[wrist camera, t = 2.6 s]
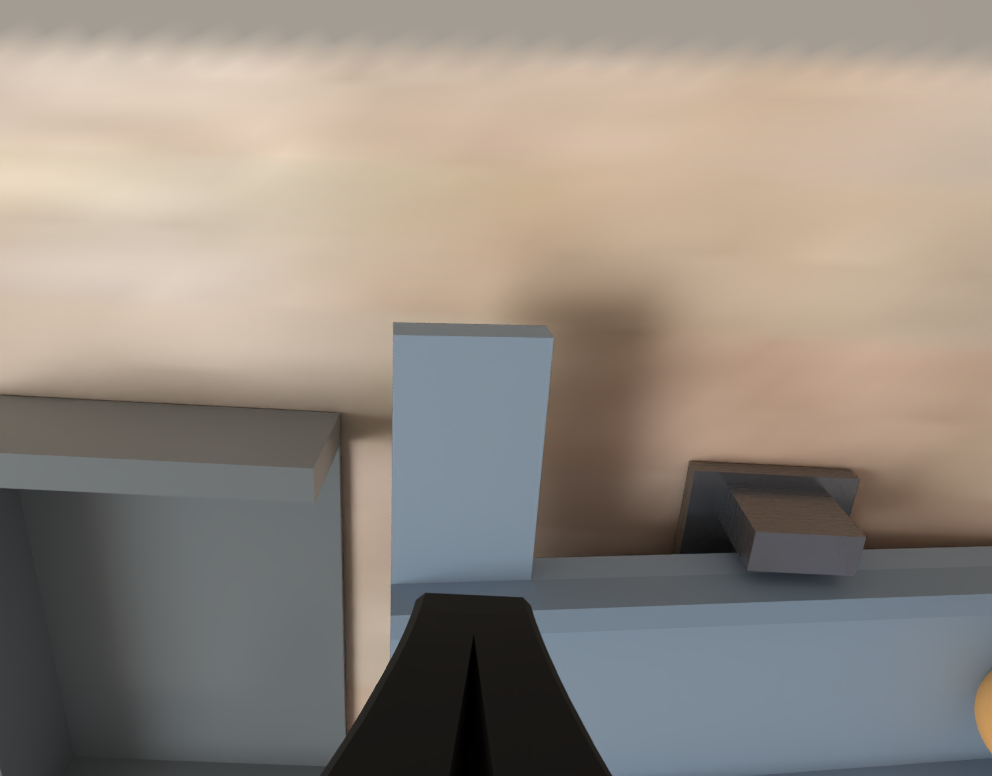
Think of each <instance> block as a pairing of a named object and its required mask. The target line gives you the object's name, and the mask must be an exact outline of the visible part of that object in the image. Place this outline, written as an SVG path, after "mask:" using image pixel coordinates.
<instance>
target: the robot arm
mask: <svg viewBox="0 0 992 776" xmlns="http://www.w3.org/2000/svg"><path fill="white" fill-rule="evenodd" d="M320 776H612V774H611V773H610V771H609V769H608V768H607V766H606V764H605V762H604V761H603V759H602V757H601V755H600V754H599V752H598V750H597V748H596V747H595V745H594V743H593V741H592V739H591V737H590V735H589V734H588V732H587V730H586V728H585V726H584V724H583V722H582V720H581V719H580V717H579V715H578V713H577V711H576V709H575V707H574V705H573V704H572V702H571V700H570V698H569V696H568V694H567V692H566V690H565V688H564V686H563V684H562V681H561V679H560V677H559V675H558V673H557V671H556V668H555V666H554V664H553V662H552V660H551V658H550V655H549V653H548V651H547V648H546V646H545V644H544V641H543V639H542V636H541V634H540V631H539V628H538V626H537V623H536V620H535V617H534V614H533V611H532V607H531V605H530V604H529V603H528V602H527V601H526V600H525V599H524V598H523V597H509V596H487V595H465V594H443V593H424V594H423V595H422V596H420V597H419V598H418V599H416V601H415V604H414V608H413V611H412V614H411V616H410V619H409V621H408V624H407V626H406V628H405V631H404V633H403V635H402V637H401V639H400V641H399V644H398V646H397V648H396V650H395V652H394V654H393V656H392V657H391V659H390V661H389V663H388V665H387V667H386V669H385V671H384V673H383V675H382V676H381V678H380V680H379V682H378V683H377V685H376V687H375V689H374V690H373V692H372V694H371V695H370V697H369V699H368V701H367V702H366V704H365V706H364V708H363V709H362V711H361V713H360V715H359V716H358V718H357V720H356V721H355V723H354V725H353V726H352V728H351V729H350V731H349V733H348V734H347V736H346V737H345V739H344V740H343V742H342V743H341V745H340V746H339V748H338V749H337V751H336V752H335V754H334V755H333V757H332V758H331V760H330V761H329V763H328V764H327V766H326V767H325V769H324V770H323V772H322V773H321V775H320Z"/></svg>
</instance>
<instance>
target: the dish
mask: <svg viewBox="0 0 992 776" xmlns="http://www.w3.org/2000/svg"><path fill="white" fill-rule="evenodd" d="M346 736H347V732H346V682H345V632H344V583H343V533H342V483H341V433H340V413H334V412H314V411H295V410H276V409H257V408H238V407H219V406H200V405H181V404H162V403H143V402H123V401H104V400H85V399H66V398H47V397H28V396H9V395H0V776H320V775H321V773H322V772H323V770H324V769H325V767H326V766H327V764H328V763H329V761H330V760H331V758H332V757H333V755H334V754H335V752H336V751H337V749H338V748H339V746H340V745H341V743H342V742H343V740H344V739H345V737H346Z"/></svg>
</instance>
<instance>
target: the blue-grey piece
mask: <svg viewBox="0 0 992 776" xmlns="http://www.w3.org/2000/svg"><path fill="white" fill-rule="evenodd" d="M553 342H554V337H553V336H552V334H551V333H550V331H549V330H548V328H547V327H546V326H541V325H493V324H446V323H398V322H393V416H392V526H391V636H390V659H391V657H392V656H393V654H394V652H395V650H396V648H397V646H398V644H399V641H400V639H401V637H402V635H403V633H404V631H405V628H406V626H407V624H408V621H409V619H410V616H411V614H412V611H413V608H414V604H415V601H416V599H418V598H419V597H420V596H422V595H423V594H424V593H443V594H465V595H487V596H509V597H523V598H524V599H525V600H526V601H527V602H528V603H529V604H530V605H531V607H532V611H533V614H534V617H535V620H536V623H537V626H538V628H539V631H540V634H541V636H542V639H543V641H544V644H545V646H546V648H547V651H548V653H549V655H550V658H551V660H552V662H553V664H554V666H555V668H556V671H557V673H558V675H559V677H560V679H561V681H562V684H563V686H564V688H565V690H566V692H567V694H568V696H569V698H570V700H571V702H572V704H573V705H574V707H575V709H576V711H577V713H578V715H579V717H580V719H581V720H582V722H583V724H584V726H585V728H586V730H587V732H588V734H589V735H590V737H591V739H592V741H593V743H594V745H595V747H596V748H597V750H598V752H599V754H600V755H601V757H602V759H603V761H604V762H605V764H606V766H607V768H608V769H609V771H610V773H611V774H612V776H992V754H991V752H990V751H989V749H988V748H987V747H986V745H985V743H984V741H983V739H982V737H981V735H980V733H979V730H978V728H977V724H976V720H975V712H974V705H975V697H976V694H977V690H978V688H979V686H980V684H981V682H982V681H983V679H984V678H985V677H986V675H987V674H988V673H989V672H990V671H992V546H980V547H942V548H903V549H865V550H863V551H862V554H861V558H860V561H859V564H858V568H857V571H856V575H855V576H843V575H821V574H800V573H778V572H757V571H747V570H746V568H745V567H744V565H743V563H742V561H741V559H740V557H739V556H738V554H737V553H710V554H671V555H633V556H594V557H556V558H533V553H534V542H535V532H536V521H537V511H538V500H539V490H540V479H541V469H542V458H543V448H544V437H545V426H546V416H547V405H548V395H549V384H550V374H551V363H552V353H553Z"/></svg>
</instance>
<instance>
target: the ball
mask: <svg viewBox="0 0 992 776" xmlns="http://www.w3.org/2000/svg"><path fill="white" fill-rule="evenodd" d="M974 712H975V720H976V724H977V728H978V730H979V733H980V735H981V737H982V739H983V741H984V743H985V745H986V747H987V748H988V749H989V751H990V752H991V754H992V671H990V672H989V673H988V674H987V675H986V677H985V678H984V679H983V681H982V682H981V684H980V686H979V688H978V690H977V694H976V697H975V705H974Z"/></svg>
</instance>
